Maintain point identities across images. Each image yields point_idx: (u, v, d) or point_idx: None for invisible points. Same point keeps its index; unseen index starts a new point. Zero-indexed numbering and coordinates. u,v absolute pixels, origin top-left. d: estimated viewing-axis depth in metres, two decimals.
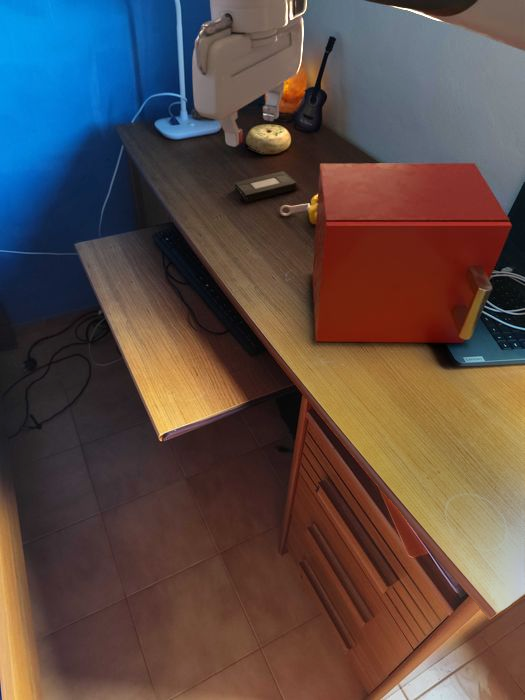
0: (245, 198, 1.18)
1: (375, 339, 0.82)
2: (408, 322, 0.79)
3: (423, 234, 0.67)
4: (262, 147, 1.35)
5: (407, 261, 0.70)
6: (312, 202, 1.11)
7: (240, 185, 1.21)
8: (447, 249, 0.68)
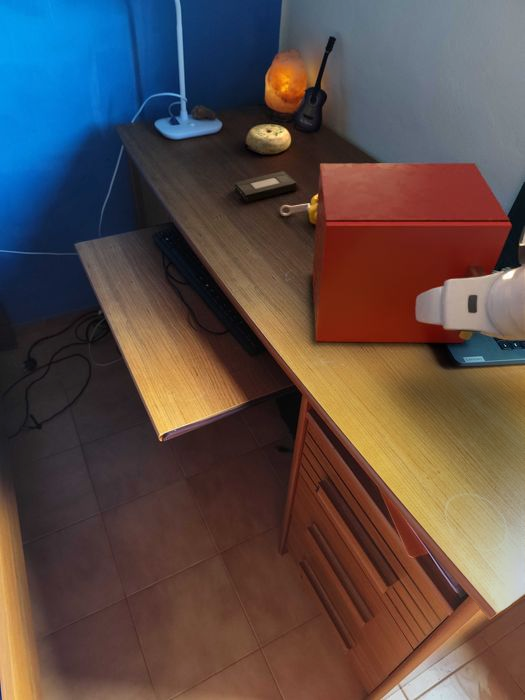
0: (245, 198, 1.18)
1: (375, 339, 0.82)
2: (408, 322, 0.79)
3: (423, 234, 0.67)
4: (262, 147, 1.35)
5: (407, 261, 0.70)
6: (312, 202, 1.11)
7: (240, 185, 1.21)
8: (447, 249, 0.68)
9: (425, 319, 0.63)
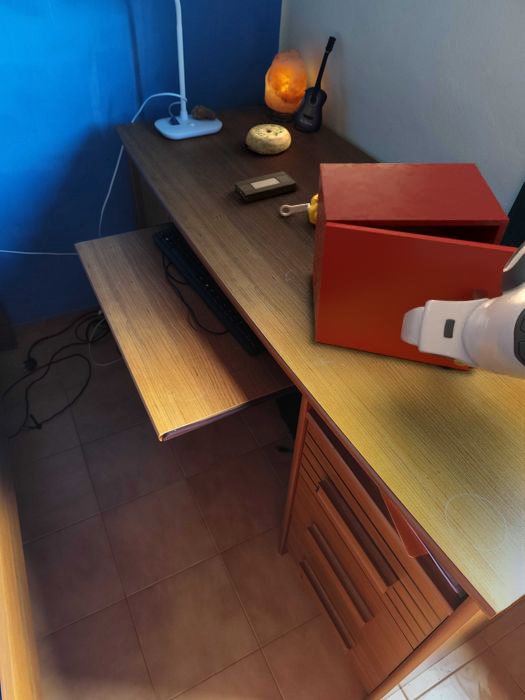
0: (245, 198, 1.18)
1: (374, 349, 0.81)
2: None
3: (424, 248, 0.64)
4: (262, 147, 1.35)
5: (407, 274, 0.68)
6: (312, 202, 1.11)
7: (240, 185, 1.21)
8: (450, 268, 0.65)
9: (405, 338, 0.61)
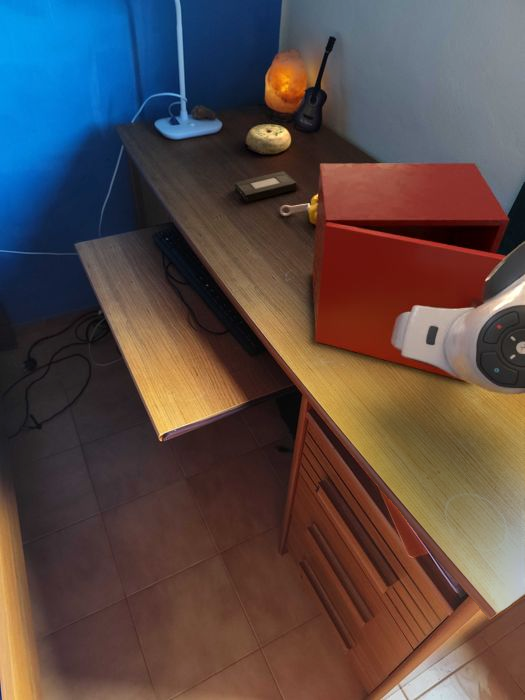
0: (245, 198, 1.18)
1: (373, 353, 0.80)
2: None
3: (422, 253, 0.64)
4: (262, 147, 1.35)
5: (406, 279, 0.67)
6: (312, 202, 1.11)
7: (240, 185, 1.21)
8: (448, 275, 0.64)
9: (393, 342, 0.60)
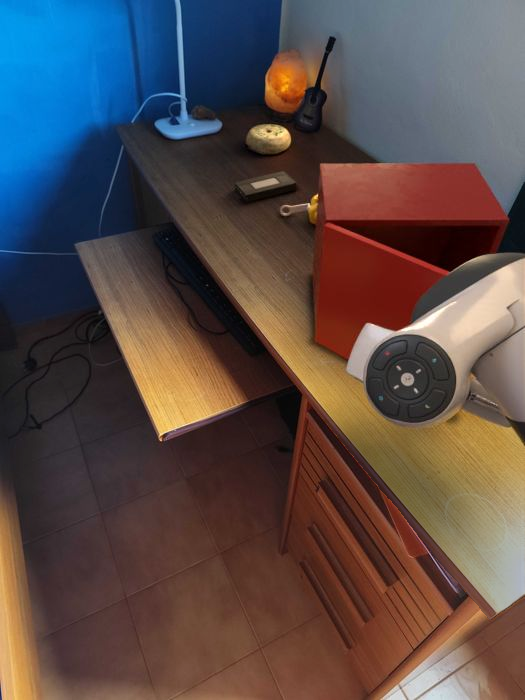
0: (245, 198, 1.18)
1: None
2: None
3: (410, 271, 0.61)
4: (262, 147, 1.35)
5: (394, 294, 0.65)
6: (312, 202, 1.11)
7: (240, 185, 1.21)
8: None
9: None
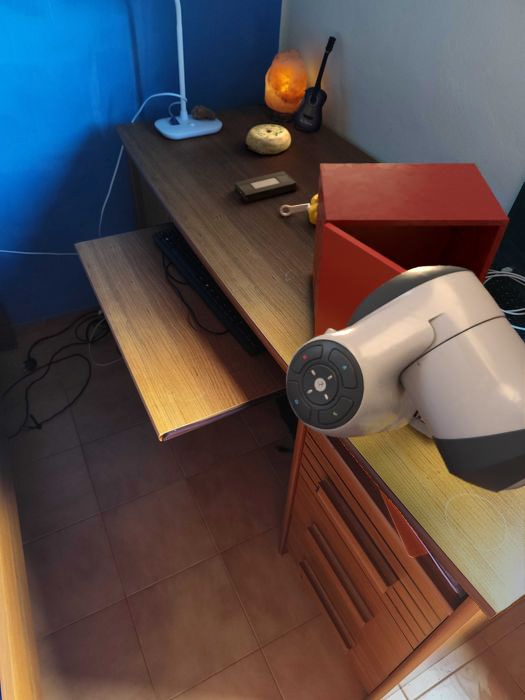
0: (245, 198, 1.18)
1: None
2: None
3: None
4: (262, 147, 1.35)
5: None
6: (312, 202, 1.11)
7: (240, 185, 1.21)
8: None
9: None
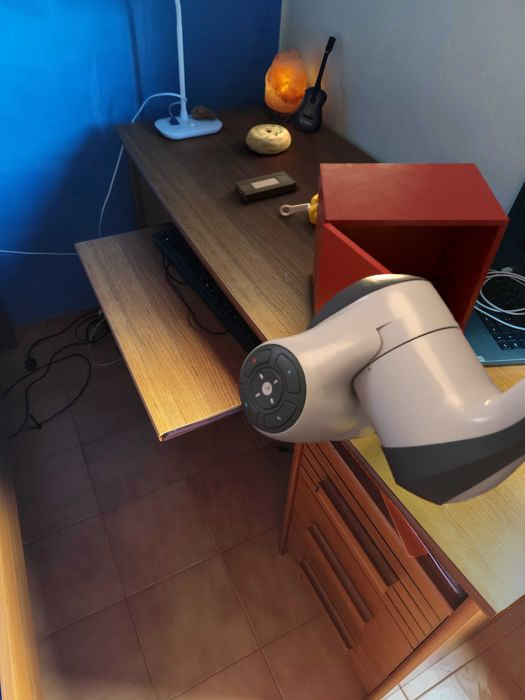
0: (245, 198, 1.18)
1: None
2: None
3: None
4: (262, 147, 1.35)
5: None
6: (312, 202, 1.11)
7: (240, 185, 1.21)
8: None
9: None
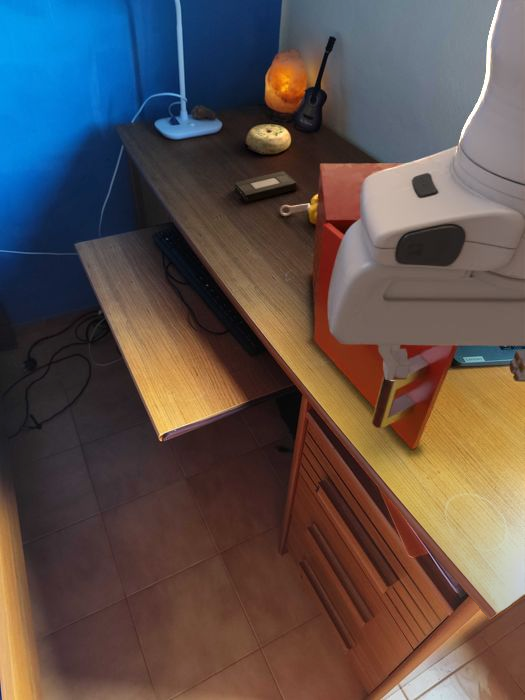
0: (245, 198, 1.18)
1: (349, 376, 0.77)
2: (371, 380, 0.71)
3: None
4: (262, 147, 1.35)
5: None
6: (312, 202, 1.11)
7: (240, 185, 1.21)
8: None
9: (340, 294, 0.27)
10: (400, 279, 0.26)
